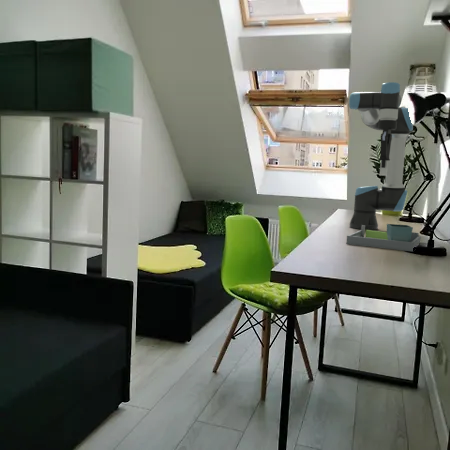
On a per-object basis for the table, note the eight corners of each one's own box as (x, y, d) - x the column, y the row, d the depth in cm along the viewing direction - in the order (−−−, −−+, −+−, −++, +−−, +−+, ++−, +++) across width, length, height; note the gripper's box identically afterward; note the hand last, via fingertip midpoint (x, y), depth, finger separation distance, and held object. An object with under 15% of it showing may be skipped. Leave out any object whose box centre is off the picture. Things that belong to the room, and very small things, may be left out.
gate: (366, 237, 221) (367, 227, 221) (393, 240, 214) (394, 230, 214) (364, 237, 220) (365, 228, 219) (392, 241, 213) (393, 231, 212)
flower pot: (411, 248, 196) (413, 227, 195) (389, 247, 197) (391, 226, 196) (405, 245, 205) (407, 224, 204) (384, 244, 206) (386, 223, 205)
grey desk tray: (359, 237, 223) (360, 224, 222) (420, 244, 210) (421, 230, 210) (346, 243, 202) (347, 229, 201) (412, 251, 189) (414, 236, 188)
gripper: (381, 121, 211) (377, 175, 214) (375, 118, 199) (371, 175, 202) (399, 121, 207) (394, 176, 210) (394, 118, 196) (389, 175, 199)
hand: (383, 175), depth 206 cm, fingers closed
